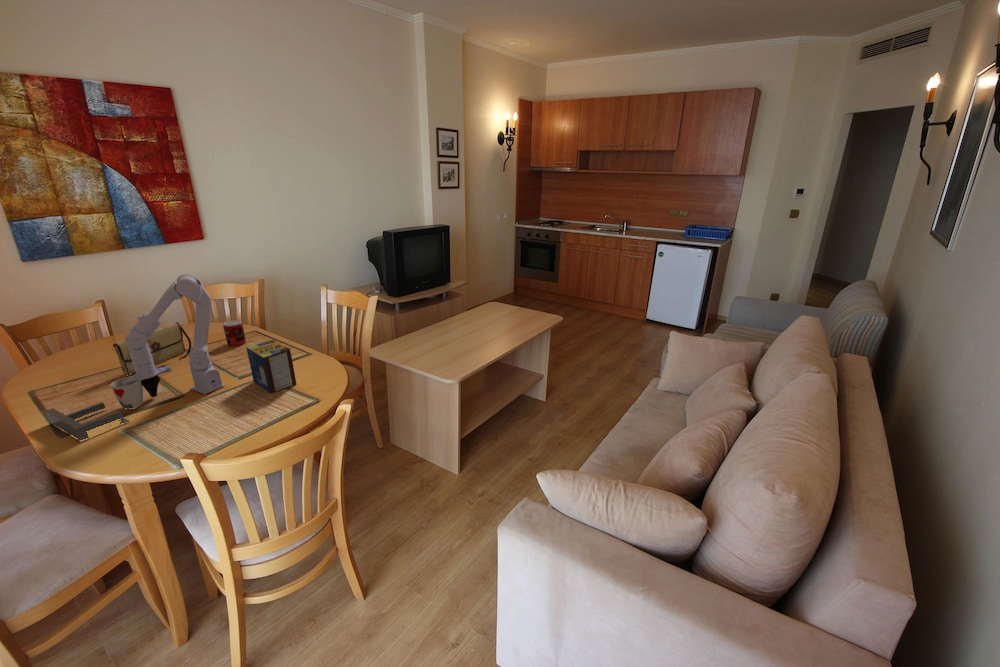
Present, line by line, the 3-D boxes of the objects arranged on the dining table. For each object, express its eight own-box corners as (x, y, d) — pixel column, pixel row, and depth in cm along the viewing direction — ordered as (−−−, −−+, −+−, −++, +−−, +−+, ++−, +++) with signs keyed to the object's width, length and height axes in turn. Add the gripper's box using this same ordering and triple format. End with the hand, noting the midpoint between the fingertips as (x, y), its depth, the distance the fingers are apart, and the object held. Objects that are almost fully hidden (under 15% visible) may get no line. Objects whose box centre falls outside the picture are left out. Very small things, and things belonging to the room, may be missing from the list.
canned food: (229, 341, 213) (225, 320, 209) (248, 340, 215) (243, 319, 211) (225, 347, 206) (220, 326, 202) (244, 346, 208) (239, 324, 204)
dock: (130, 422, 146) (125, 409, 144) (81, 442, 135) (76, 429, 133) (98, 406, 155) (93, 393, 153) (50, 423, 144) (44, 410, 142)
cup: (114, 408, 154) (105, 383, 150) (140, 398, 160) (133, 374, 157) (126, 414, 150) (117, 389, 147) (152, 404, 157) (144, 379, 153)
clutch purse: (132, 380, 174) (121, 346, 168) (119, 378, 175) (108, 344, 170) (198, 352, 201) (190, 321, 195) (186, 350, 202) (178, 320, 197)
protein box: (279, 373, 182) (272, 339, 176) (297, 384, 172) (290, 348, 167) (252, 382, 174) (245, 346, 168) (270, 394, 165) (263, 357, 159)
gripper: (159, 353, 163) (169, 385, 168) (113, 367, 151) (125, 401, 156) (170, 357, 160) (179, 389, 165) (124, 372, 148) (135, 406, 153)
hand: (153, 395), depth 160 cm, fingers closed
